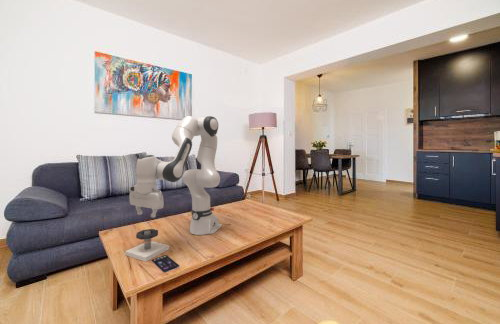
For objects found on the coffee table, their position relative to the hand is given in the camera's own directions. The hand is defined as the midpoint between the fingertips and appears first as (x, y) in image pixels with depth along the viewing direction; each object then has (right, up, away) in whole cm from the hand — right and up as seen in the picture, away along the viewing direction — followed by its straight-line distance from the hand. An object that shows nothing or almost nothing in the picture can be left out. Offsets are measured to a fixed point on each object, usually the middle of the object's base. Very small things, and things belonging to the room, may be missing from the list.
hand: (146, 215), depth 109 cm
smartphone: (+13, -20, -9) cm, 25 cm away
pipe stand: (0, -19, +1) cm, 19 cm away
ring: (0, -9, +1) cm, 9 cm away
